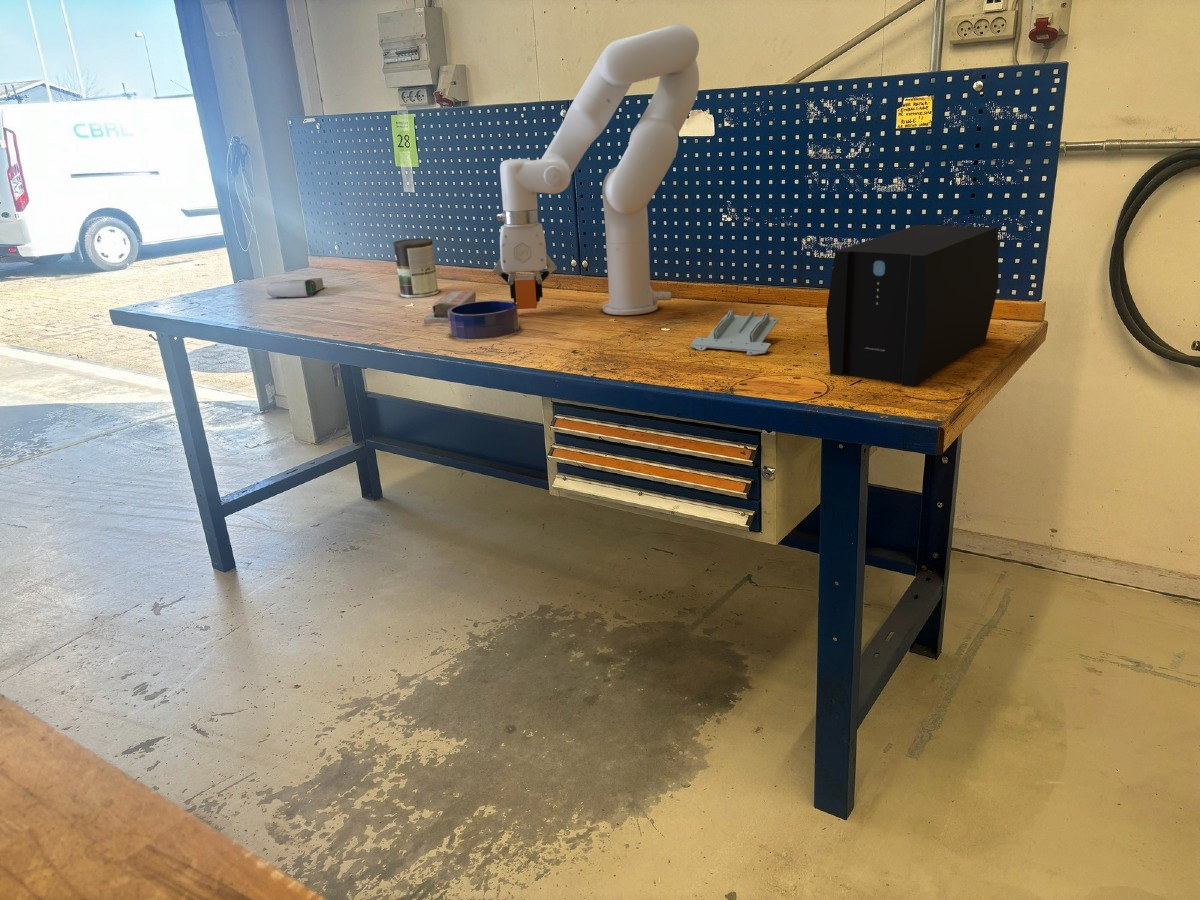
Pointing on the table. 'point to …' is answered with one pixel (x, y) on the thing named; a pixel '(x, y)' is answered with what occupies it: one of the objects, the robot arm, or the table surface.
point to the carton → (526, 292)
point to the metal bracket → (739, 334)
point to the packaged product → (449, 305)
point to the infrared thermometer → (295, 288)
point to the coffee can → (416, 267)
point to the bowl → (483, 319)
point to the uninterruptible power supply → (911, 301)
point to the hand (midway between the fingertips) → (527, 300)
